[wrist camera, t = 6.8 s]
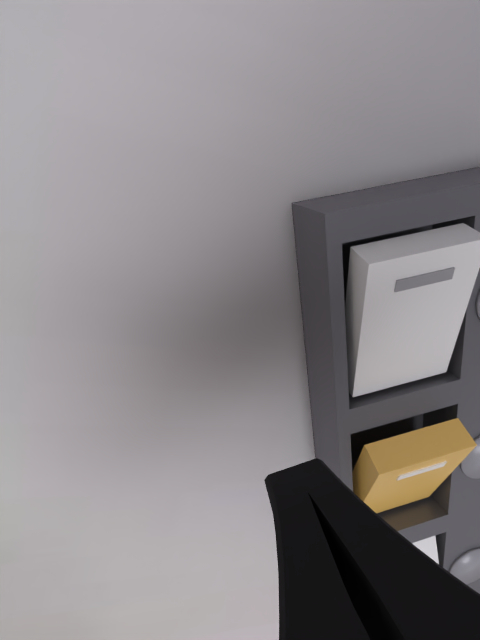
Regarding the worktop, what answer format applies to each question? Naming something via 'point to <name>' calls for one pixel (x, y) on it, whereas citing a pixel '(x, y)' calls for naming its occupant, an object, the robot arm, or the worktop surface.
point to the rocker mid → (409, 464)
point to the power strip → (406, 399)
